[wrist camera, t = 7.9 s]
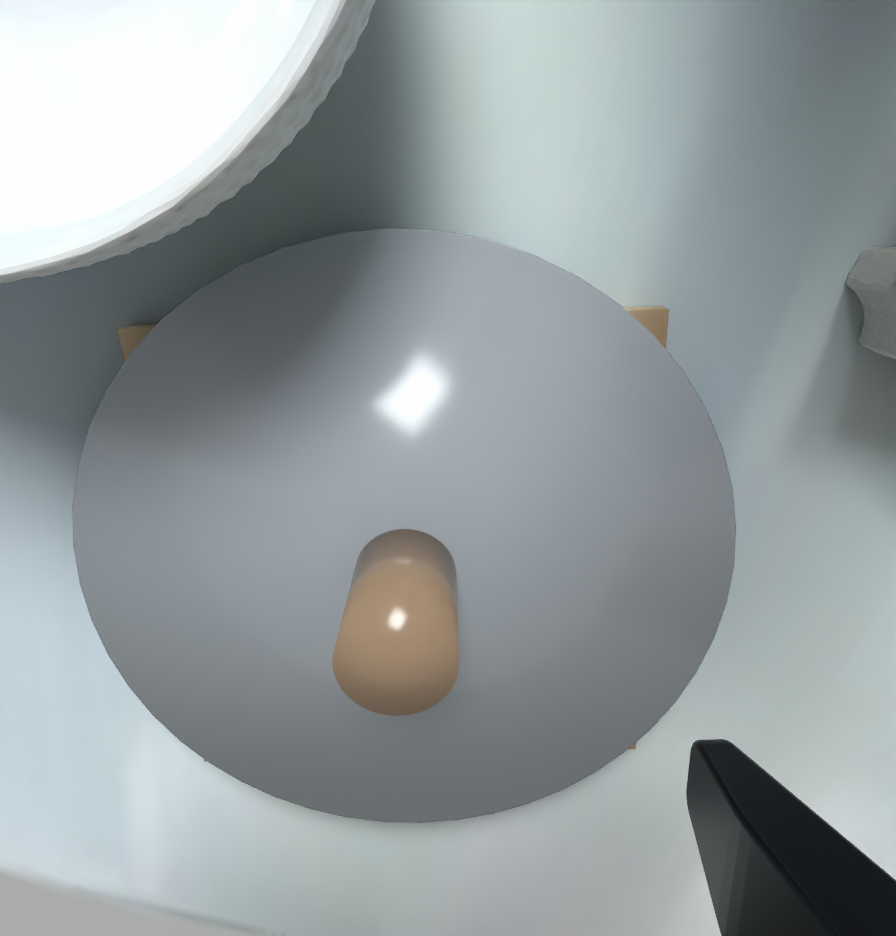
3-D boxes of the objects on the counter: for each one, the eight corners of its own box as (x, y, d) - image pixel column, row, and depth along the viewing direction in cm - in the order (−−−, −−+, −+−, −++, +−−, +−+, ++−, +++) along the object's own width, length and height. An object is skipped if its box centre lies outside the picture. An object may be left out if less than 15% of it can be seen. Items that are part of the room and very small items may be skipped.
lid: (760, 216, 17) (881, 220, 12) (691, 791, 23) (753, 938, 19) (20, 240, 17) (-141, 252, 12) (152, 804, 23) (79, 954, 19)
